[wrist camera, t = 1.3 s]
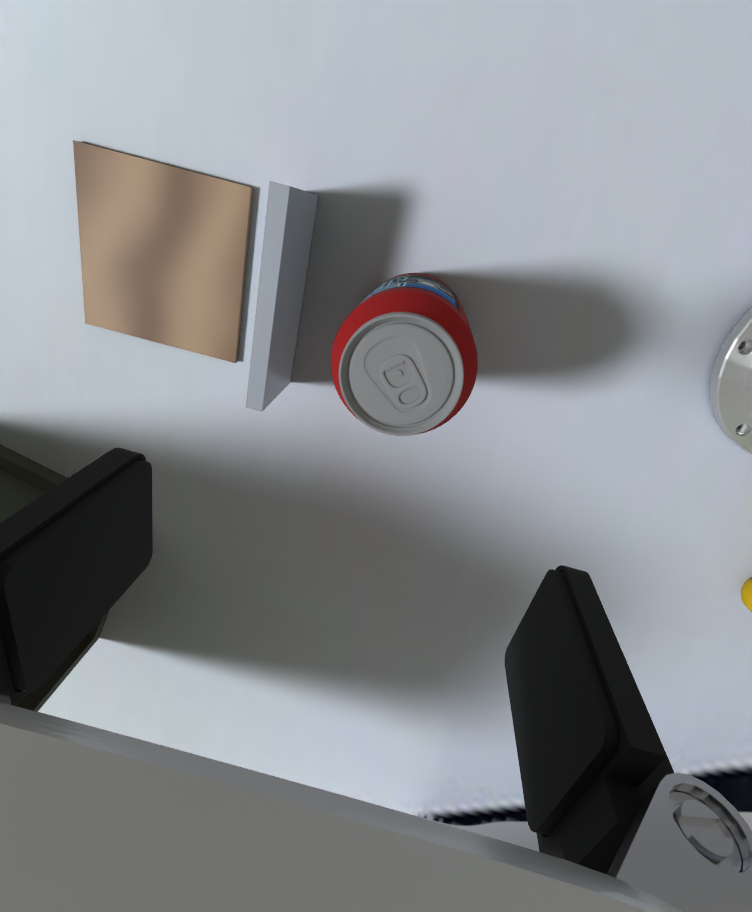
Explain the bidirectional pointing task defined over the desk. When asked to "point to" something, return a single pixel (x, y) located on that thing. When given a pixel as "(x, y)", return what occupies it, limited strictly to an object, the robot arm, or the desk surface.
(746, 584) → the educational toy
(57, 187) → the desk surface
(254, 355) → the low wall
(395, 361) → the beverage can
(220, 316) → the coaster pad
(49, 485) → the first aid box
